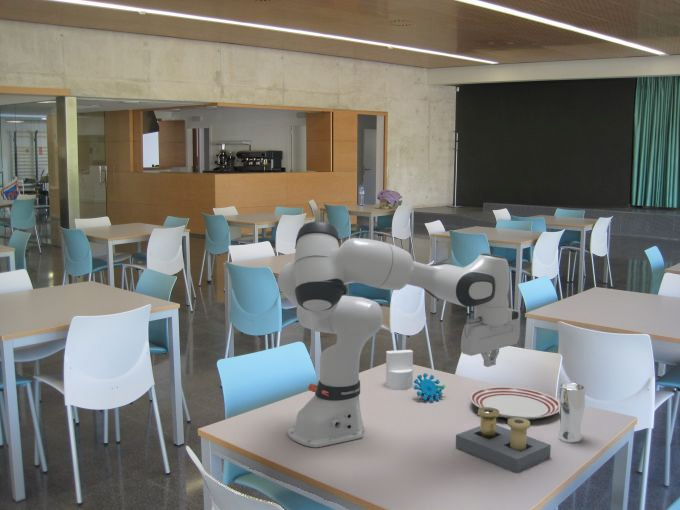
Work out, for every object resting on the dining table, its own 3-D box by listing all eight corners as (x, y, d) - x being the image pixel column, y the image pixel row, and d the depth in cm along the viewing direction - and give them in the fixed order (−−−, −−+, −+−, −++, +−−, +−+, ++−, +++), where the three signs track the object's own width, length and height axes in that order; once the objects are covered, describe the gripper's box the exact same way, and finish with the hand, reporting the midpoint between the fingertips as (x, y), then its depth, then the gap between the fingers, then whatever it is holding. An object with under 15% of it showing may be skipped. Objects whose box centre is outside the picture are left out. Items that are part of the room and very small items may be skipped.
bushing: (489, 452, 187) (490, 416, 186) (472, 445, 191) (473, 410, 190) (502, 447, 191) (503, 411, 189) (485, 440, 195) (486, 405, 193)
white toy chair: (390, 390, 236) (390, 355, 235) (383, 382, 245) (383, 348, 243) (415, 388, 238) (416, 354, 236) (407, 380, 247) (408, 347, 245)
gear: (418, 399, 223) (412, 371, 229) (411, 408, 227) (405, 380, 233) (449, 400, 226) (443, 373, 232) (442, 409, 231) (435, 381, 237)
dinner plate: (532, 391, 235) (532, 382, 235) (579, 421, 209) (579, 411, 209) (455, 398, 229) (455, 389, 228) (493, 430, 203) (494, 419, 202)
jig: (550, 457, 184) (551, 420, 182) (516, 472, 175) (518, 434, 174) (489, 434, 199) (490, 400, 198) (455, 447, 190) (456, 411, 189)
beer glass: (552, 434, 199) (555, 382, 197) (576, 433, 200) (579, 382, 198) (562, 444, 192) (564, 390, 190) (587, 443, 193) (589, 390, 191)
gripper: (474, 322, 177) (473, 376, 179) (524, 311, 190) (522, 361, 192) (455, 318, 182) (454, 370, 184) (505, 307, 195) (503, 356, 197)
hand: (489, 365), depth 188 cm, fingers closed
